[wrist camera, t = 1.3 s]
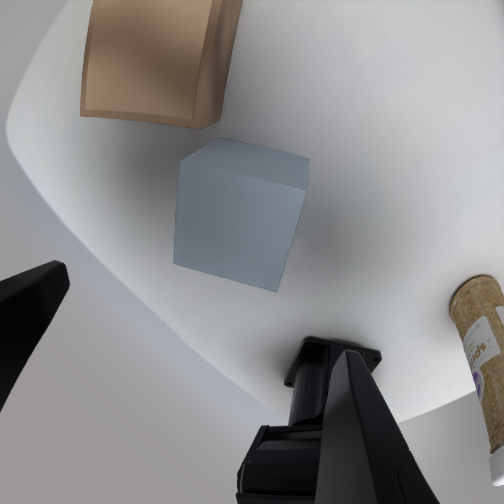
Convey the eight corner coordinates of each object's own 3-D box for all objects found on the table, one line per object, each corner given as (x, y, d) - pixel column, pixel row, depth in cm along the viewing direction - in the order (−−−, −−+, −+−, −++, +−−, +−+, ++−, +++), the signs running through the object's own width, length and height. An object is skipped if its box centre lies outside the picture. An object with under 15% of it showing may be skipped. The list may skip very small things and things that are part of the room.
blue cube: (287, 238, 18) (276, 292, 14) (206, 217, 18) (173, 263, 14) (309, 158, 15) (306, 190, 11) (217, 137, 15) (179, 161, 11)
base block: (219, 120, 15) (199, 129, 12) (111, 107, 15) (79, 116, 13) (243, -2, 11) (226, -19, 8) (126, 0, 11) (94, -7, 9)
